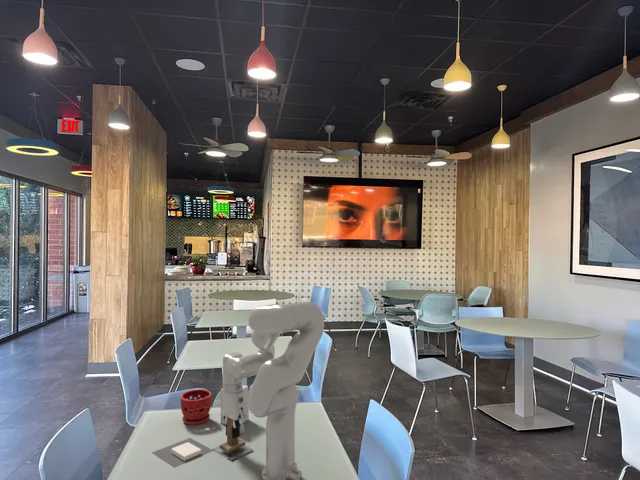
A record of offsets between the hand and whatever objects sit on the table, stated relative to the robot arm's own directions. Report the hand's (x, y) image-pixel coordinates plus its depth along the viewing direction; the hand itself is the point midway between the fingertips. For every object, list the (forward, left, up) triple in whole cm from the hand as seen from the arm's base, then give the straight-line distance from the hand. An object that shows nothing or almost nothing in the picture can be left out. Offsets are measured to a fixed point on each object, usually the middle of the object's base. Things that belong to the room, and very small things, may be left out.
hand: (232, 435), depth 156 cm
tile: (+15, +13, -4) cm, 20 cm away
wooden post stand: (0, 0, -4) cm, 4 cm away
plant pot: (+34, -6, -6) cm, 35 cm away
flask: (+12, -11, -6) cm, 17 cm away
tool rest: (0, 0, -6) cm, 6 cm away
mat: (+13, +13, -6) cm, 19 cm away
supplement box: (+21, -17, -6) cm, 28 cm away
